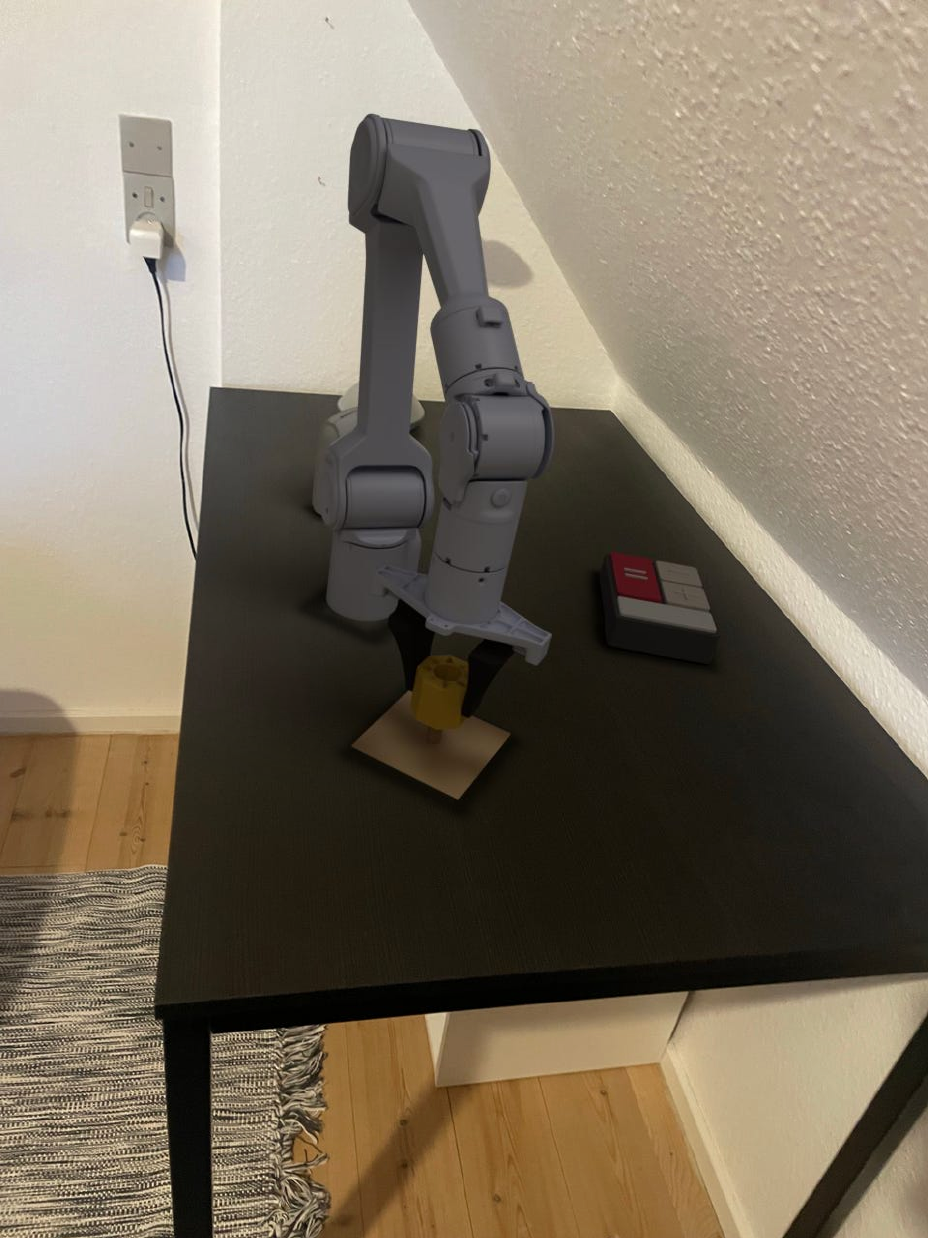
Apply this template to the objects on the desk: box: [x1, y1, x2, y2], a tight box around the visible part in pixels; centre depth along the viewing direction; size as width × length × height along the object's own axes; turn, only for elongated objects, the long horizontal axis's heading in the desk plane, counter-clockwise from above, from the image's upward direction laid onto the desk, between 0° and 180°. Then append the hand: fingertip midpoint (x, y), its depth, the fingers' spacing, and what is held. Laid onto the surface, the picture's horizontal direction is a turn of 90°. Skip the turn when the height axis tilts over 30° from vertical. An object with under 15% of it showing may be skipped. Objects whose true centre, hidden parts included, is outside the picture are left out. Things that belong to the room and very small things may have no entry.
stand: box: [350, 690, 511, 800], centre depth 78 cm, size 10×10×5 cm
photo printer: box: [311, 405, 358, 516], centre depth 110 cm, size 10×4×12 cm, turn 137°
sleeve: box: [410, 654, 469, 730], centre depth 76 cm, size 5×5×4 cm
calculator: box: [598, 551, 721, 665], centre depth 103 cm, size 11×4×15 cm
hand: (441, 697), depth 77 cm, fingers closed on sleeve, 4 cm apart
